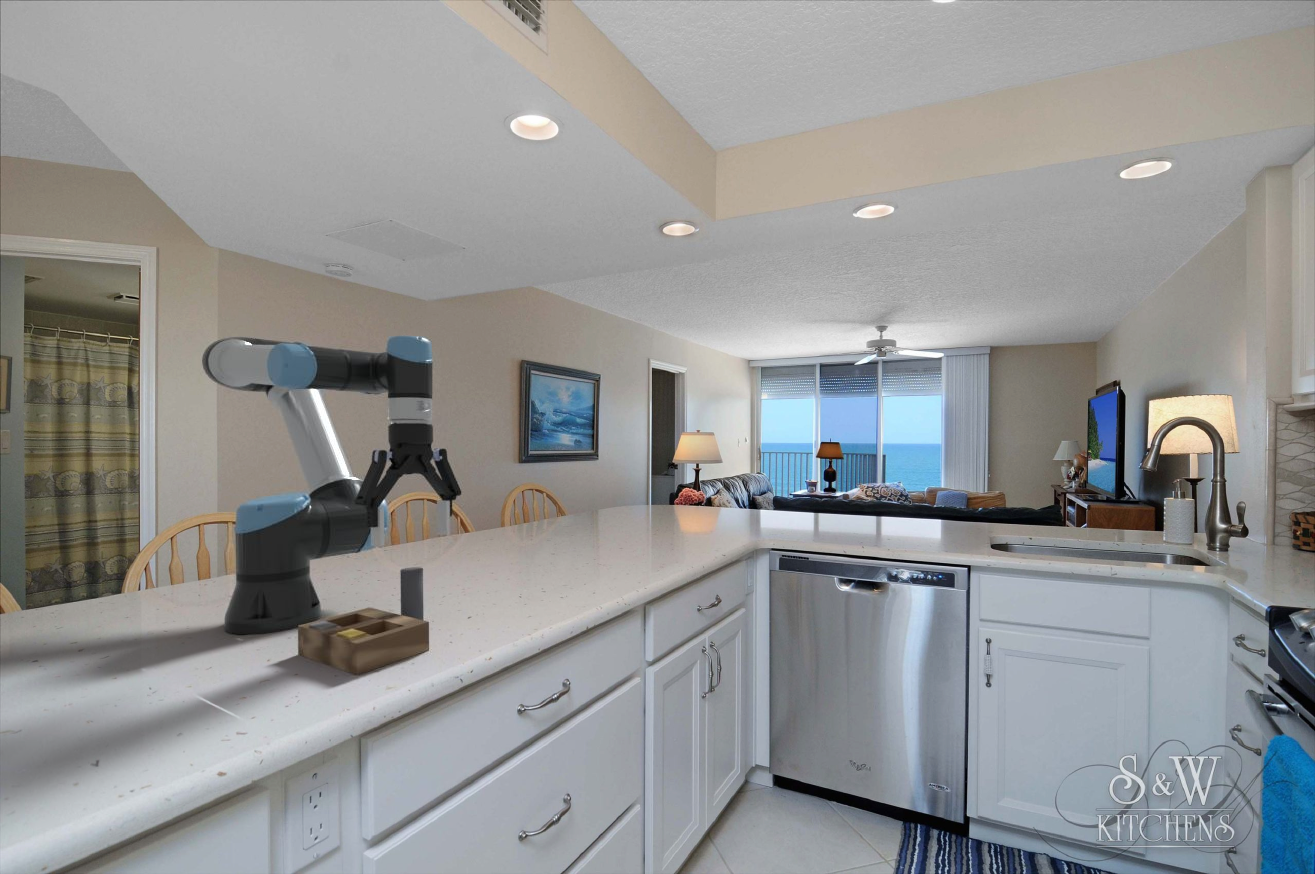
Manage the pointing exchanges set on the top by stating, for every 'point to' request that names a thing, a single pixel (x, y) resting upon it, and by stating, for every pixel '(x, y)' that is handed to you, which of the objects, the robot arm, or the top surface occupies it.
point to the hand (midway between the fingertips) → (412, 540)
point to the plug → (412, 592)
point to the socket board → (363, 639)
